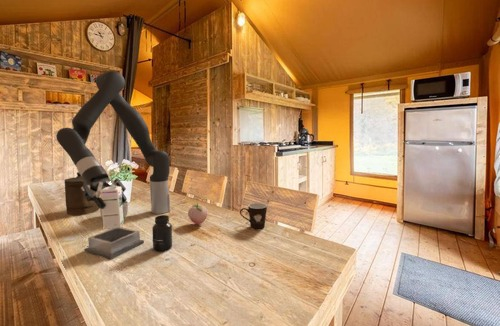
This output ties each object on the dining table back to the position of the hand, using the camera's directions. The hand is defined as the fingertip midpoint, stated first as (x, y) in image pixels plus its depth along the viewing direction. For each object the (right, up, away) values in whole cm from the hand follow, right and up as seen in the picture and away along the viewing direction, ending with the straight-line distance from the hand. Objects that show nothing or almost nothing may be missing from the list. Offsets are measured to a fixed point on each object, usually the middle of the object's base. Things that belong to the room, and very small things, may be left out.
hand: (114, 204), depth 90 cm
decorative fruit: (+25, -14, +26) cm, 39 cm away
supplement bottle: (+17, -17, +2) cm, 24 cm away
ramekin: (-20, -13, +36) cm, 43 cm away
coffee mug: (+52, -14, +23) cm, 58 cm away
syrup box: (-1, -8, +2) cm, 9 cm away
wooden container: (-42, -11, +45) cm, 63 cm away
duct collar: (-1, -16, +2) cm, 17 cm away
